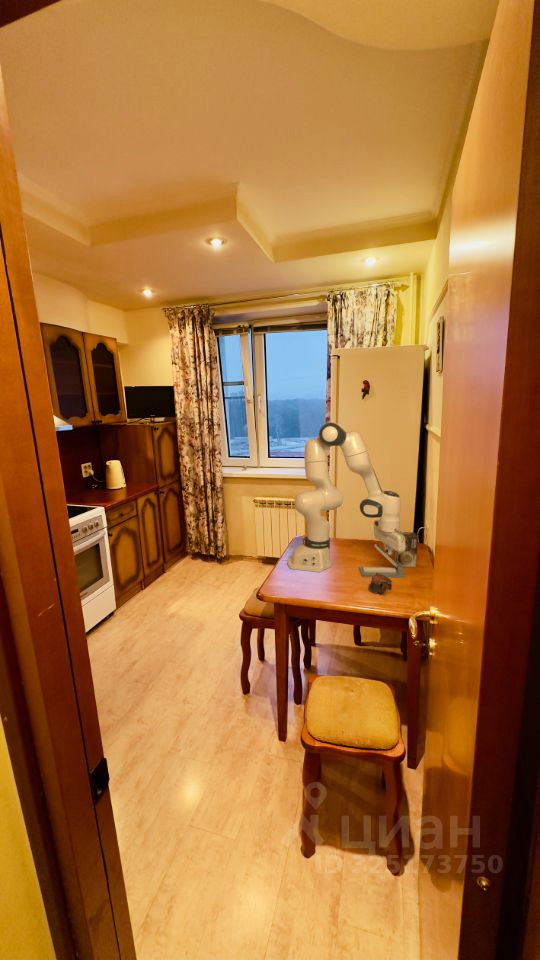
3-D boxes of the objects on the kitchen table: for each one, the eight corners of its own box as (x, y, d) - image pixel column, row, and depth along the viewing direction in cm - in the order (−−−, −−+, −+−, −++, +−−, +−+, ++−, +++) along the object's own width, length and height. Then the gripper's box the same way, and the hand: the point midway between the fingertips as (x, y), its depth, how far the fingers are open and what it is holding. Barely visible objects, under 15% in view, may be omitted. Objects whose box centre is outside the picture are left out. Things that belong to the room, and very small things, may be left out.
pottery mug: (364, 586, 164) (371, 569, 164) (382, 595, 164) (390, 578, 164) (372, 594, 152) (381, 576, 152) (392, 603, 152) (401, 585, 152)
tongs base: (361, 576, 171) (362, 568, 170) (358, 568, 179) (359, 560, 178) (405, 577, 170) (405, 569, 169) (400, 569, 177) (400, 561, 176)
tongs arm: (397, 567, 175) (400, 565, 174) (399, 570, 171) (402, 568, 171) (373, 545, 173) (376, 542, 172) (375, 547, 169) (377, 545, 169)
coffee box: (412, 561, 186) (414, 532, 182) (416, 567, 179) (418, 537, 176) (394, 561, 186) (396, 531, 183) (397, 566, 180) (399, 536, 176)
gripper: (409, 532, 159) (408, 561, 162) (383, 518, 179) (382, 544, 182) (397, 534, 158) (396, 563, 161) (371, 520, 177) (371, 546, 180)
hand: (388, 553), depth 171 cm, fingers closed
